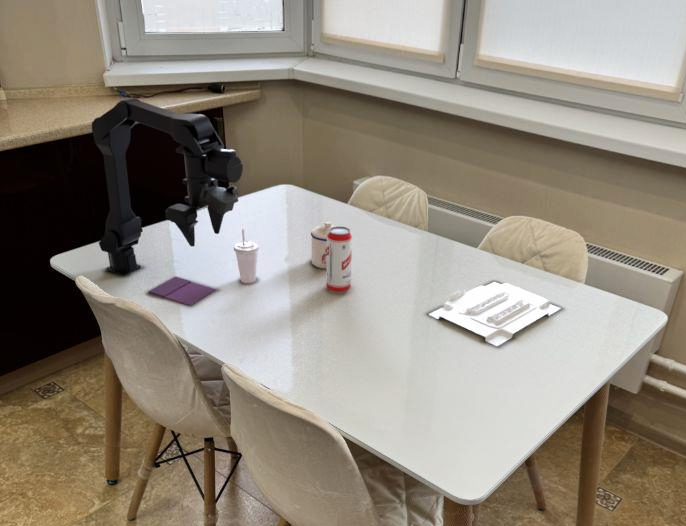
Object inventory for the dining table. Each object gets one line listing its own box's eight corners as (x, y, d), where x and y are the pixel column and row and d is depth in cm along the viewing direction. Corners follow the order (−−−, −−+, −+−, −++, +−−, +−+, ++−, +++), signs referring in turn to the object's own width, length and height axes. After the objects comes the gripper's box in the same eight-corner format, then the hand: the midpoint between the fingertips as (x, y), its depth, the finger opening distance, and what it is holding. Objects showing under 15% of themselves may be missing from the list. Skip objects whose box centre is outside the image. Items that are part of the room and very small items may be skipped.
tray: (561, 308, 174) (564, 295, 172) (497, 350, 157) (499, 336, 155) (494, 281, 186) (495, 269, 183) (427, 318, 169) (428, 305, 167)
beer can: (353, 286, 180) (356, 227, 171) (345, 296, 175) (347, 236, 166) (331, 282, 181) (332, 224, 173) (322, 292, 176) (323, 232, 168)
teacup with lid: (322, 272, 186) (322, 231, 180) (304, 260, 192) (304, 220, 186) (358, 263, 192) (360, 223, 186) (340, 251, 198) (341, 212, 192)
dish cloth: (148, 292, 172) (148, 291, 172) (175, 278, 180) (175, 276, 179) (190, 305, 167) (190, 303, 167) (215, 290, 175) (215, 288, 175)
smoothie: (236, 274, 183) (233, 224, 175) (261, 274, 183) (258, 224, 176) (234, 285, 177) (231, 234, 170) (260, 285, 178) (257, 234, 170)
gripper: (201, 192, 146) (207, 260, 154) (252, 170, 160) (255, 234, 169) (160, 183, 150) (168, 250, 159) (213, 162, 164) (218, 225, 173)
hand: (204, 239), depth 165 cm, fingers open, 9 cm apart
